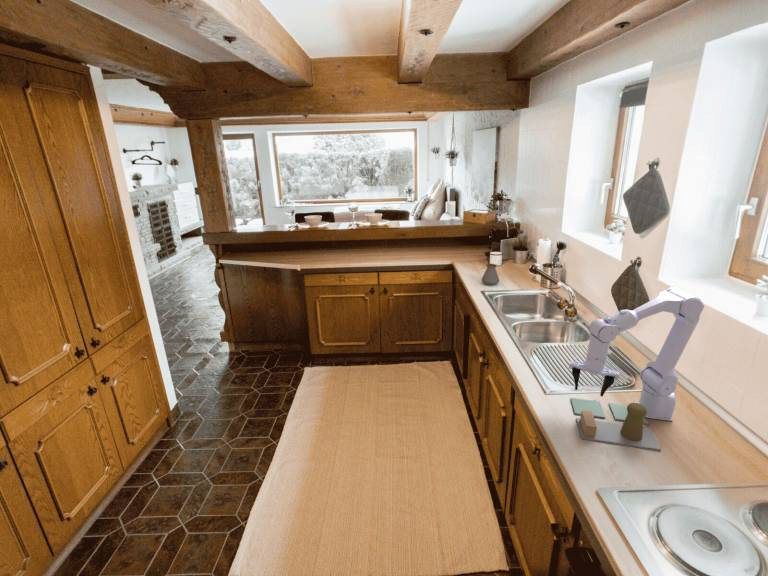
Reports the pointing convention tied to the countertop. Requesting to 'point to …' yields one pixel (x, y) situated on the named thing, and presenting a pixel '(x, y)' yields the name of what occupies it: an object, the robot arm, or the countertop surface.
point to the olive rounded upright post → (634, 422)
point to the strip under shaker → (612, 433)
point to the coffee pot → (490, 274)
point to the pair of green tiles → (600, 409)
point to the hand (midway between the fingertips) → (588, 391)
